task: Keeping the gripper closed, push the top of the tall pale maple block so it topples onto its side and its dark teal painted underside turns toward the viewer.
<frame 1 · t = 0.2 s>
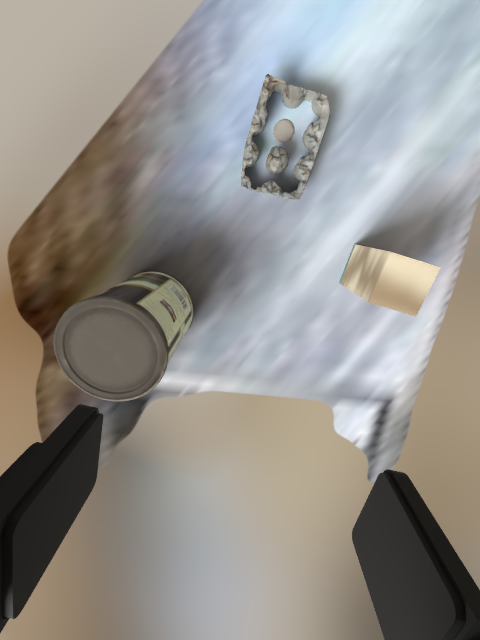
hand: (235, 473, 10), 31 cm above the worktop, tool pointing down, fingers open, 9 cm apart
maple block: (365, 269, 38), on the worktop
egg carton: (281, 148, 35), on the worktop
coffee can: (156, 309, 41), on the worktop
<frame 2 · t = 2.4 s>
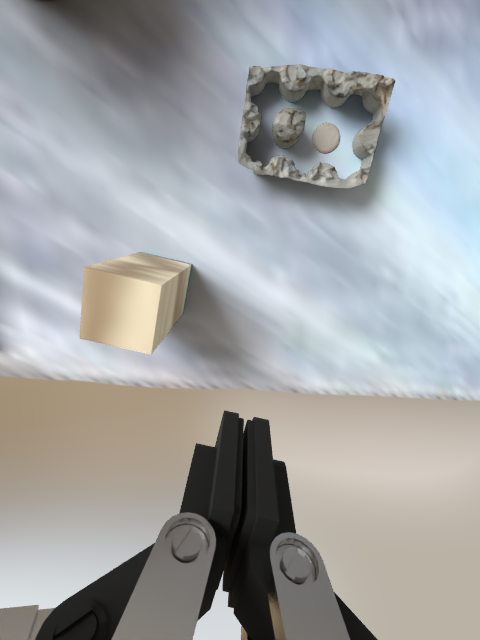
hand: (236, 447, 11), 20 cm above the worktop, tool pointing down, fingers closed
maple block: (162, 283, 30), on the worktop
egg carton: (304, 139, 26), on the worktop
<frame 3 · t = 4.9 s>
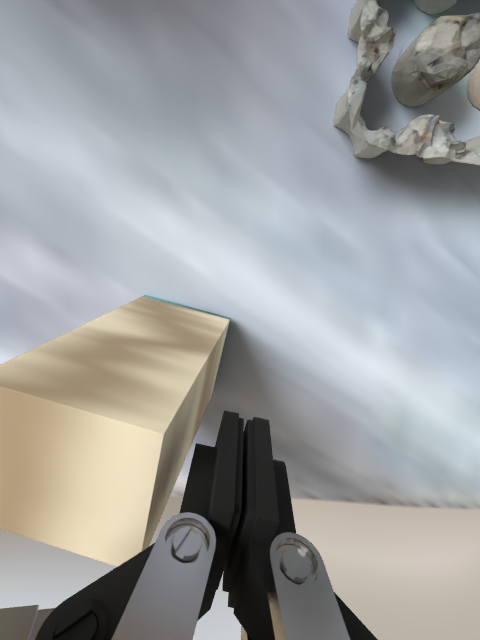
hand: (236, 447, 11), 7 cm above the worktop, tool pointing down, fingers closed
maple block: (179, 346, 18), on the worktop, tilted 6°, touching gripper
egg carton: (448, 88, 14), on the worktop
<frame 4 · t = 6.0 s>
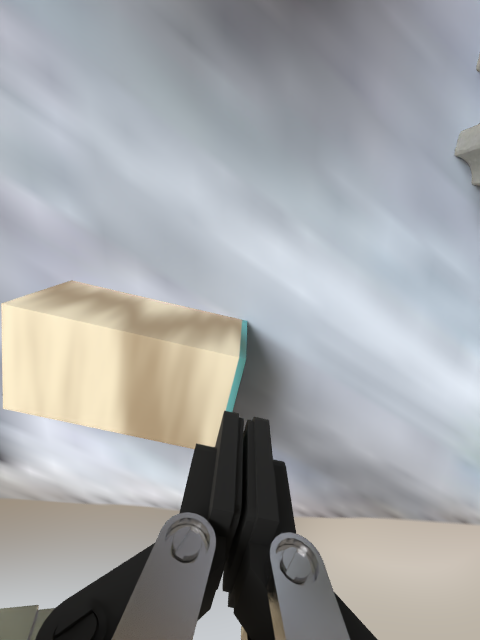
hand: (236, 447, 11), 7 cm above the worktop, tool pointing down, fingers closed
maple block: (235, 380, 16), point 2 cm above the worktop, tilted 90°
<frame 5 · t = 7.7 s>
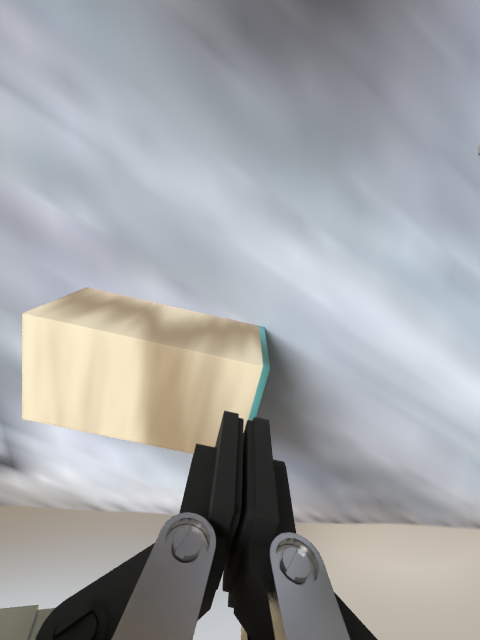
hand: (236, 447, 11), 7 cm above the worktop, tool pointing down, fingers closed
maple block: (254, 388, 15), point 2 cm above the worktop, tilted 90°
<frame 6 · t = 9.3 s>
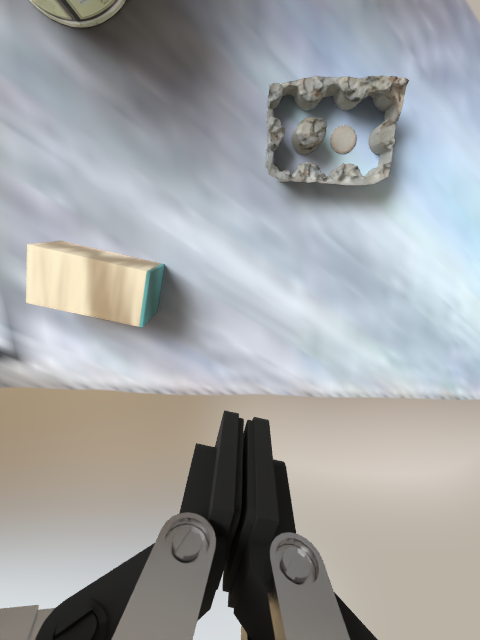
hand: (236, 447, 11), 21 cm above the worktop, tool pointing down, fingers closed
maple block: (154, 294, 28), point 2 cm above the worktop, tilted 90°
egg carton: (322, 143, 27), on the worktop
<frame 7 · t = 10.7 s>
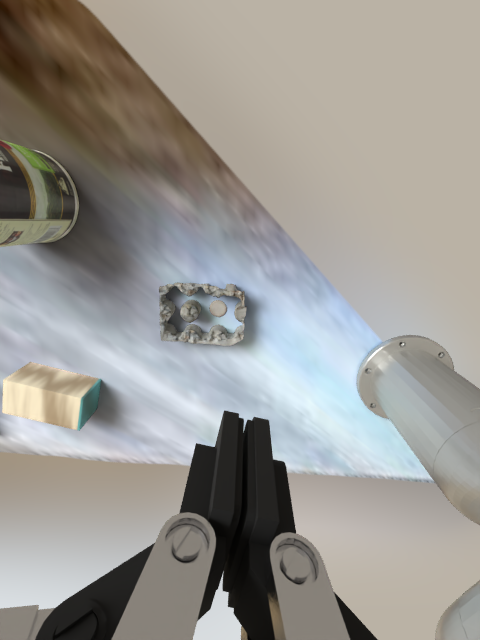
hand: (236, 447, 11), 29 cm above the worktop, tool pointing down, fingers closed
maple block: (90, 403, 41), point 2 cm above the worktop, tilted 90°
egg carton: (205, 308, 40), on the worktop
coffee can: (36, 198, 36), on the worktop
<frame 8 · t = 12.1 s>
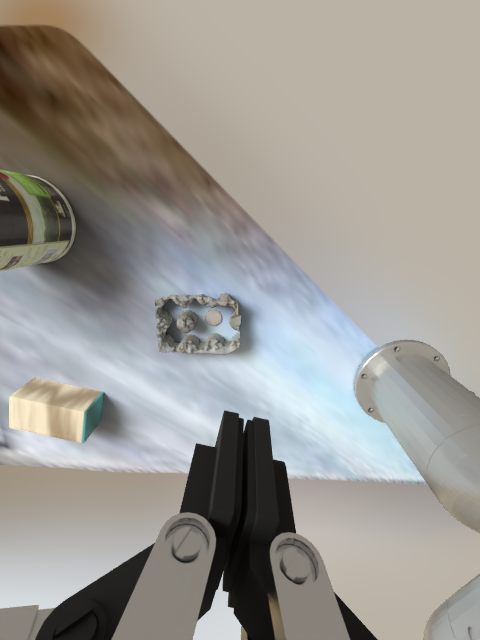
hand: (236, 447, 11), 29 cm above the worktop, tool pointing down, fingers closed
maple block: (94, 416, 43), point 2 cm above the worktop, tilted 90°
egg carton: (201, 318, 41), on the worktop
coffee can: (35, 220, 37), on the worktop
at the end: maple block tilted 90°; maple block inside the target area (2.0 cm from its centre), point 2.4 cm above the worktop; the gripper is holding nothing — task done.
